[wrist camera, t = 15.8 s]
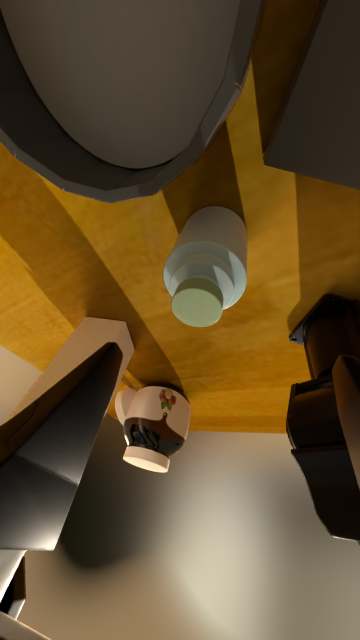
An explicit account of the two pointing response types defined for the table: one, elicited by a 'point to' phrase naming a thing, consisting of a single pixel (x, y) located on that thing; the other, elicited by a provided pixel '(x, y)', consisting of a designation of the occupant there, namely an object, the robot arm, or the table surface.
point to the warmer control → (323, 101)
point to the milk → (81, 355)
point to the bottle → (207, 266)
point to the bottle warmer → (120, 87)
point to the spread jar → (153, 424)
